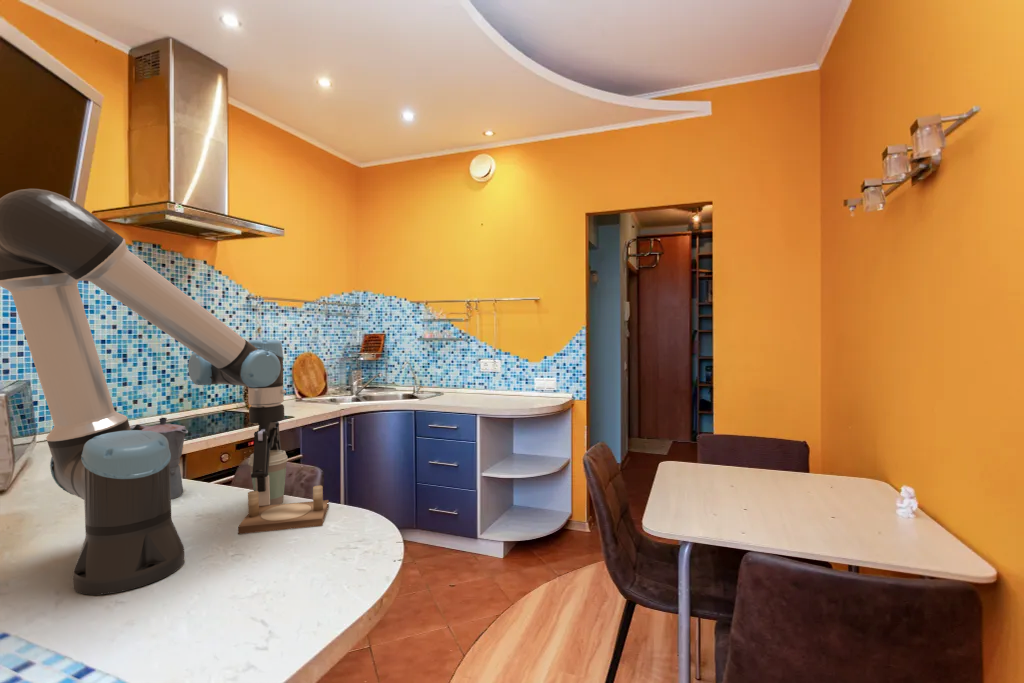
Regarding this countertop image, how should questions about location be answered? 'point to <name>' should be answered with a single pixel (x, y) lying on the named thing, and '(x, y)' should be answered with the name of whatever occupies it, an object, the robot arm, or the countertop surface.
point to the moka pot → (171, 450)
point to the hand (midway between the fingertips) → (269, 497)
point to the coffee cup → (274, 475)
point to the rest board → (284, 514)
